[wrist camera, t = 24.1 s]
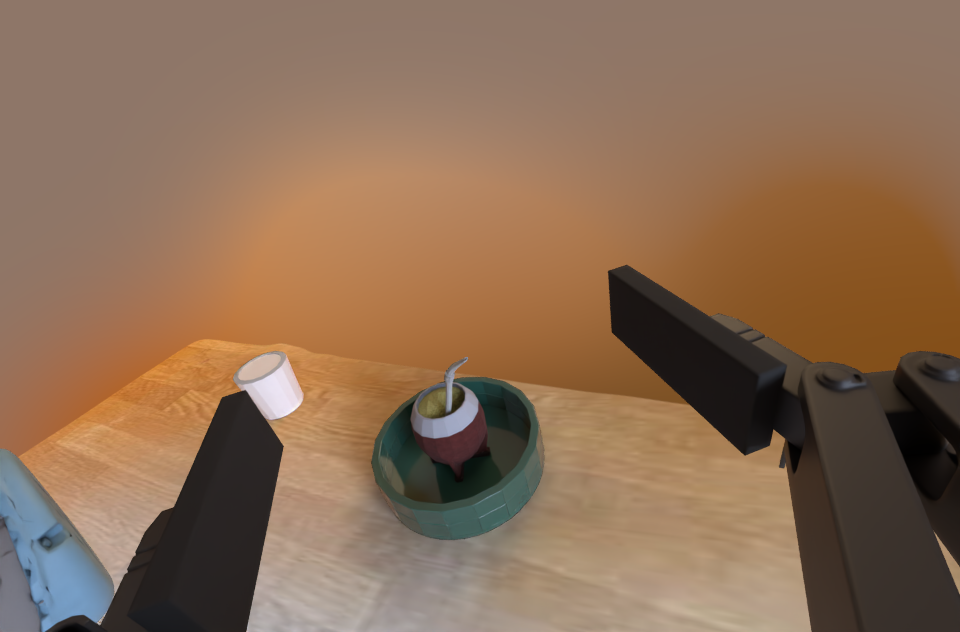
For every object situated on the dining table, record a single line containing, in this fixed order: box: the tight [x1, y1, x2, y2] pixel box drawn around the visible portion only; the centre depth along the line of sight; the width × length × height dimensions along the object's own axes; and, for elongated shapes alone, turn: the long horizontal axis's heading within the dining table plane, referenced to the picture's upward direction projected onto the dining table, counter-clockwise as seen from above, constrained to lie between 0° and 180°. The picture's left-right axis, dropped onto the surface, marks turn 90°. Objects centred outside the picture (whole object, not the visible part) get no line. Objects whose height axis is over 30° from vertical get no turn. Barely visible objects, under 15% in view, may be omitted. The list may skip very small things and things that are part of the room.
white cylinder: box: [233, 351, 303, 420], centre depth 56 cm, size 7×7×7 cm
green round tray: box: [371, 377, 544, 540], centre depth 42 cm, size 17×17×4 cm
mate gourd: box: [410, 357, 490, 483], centre depth 39 cm, size 8×8×15 cm
